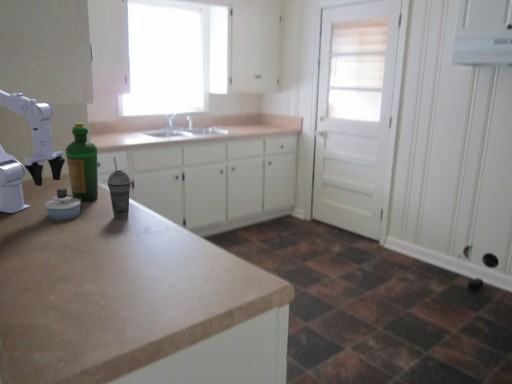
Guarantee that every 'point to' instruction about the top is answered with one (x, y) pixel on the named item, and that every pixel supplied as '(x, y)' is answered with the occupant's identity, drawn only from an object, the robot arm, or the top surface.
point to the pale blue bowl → (63, 209)
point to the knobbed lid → (62, 195)
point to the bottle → (82, 165)
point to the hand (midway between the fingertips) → (47, 182)
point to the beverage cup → (119, 193)
